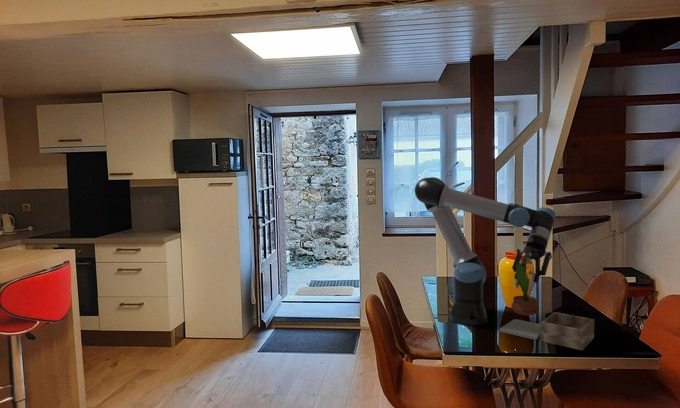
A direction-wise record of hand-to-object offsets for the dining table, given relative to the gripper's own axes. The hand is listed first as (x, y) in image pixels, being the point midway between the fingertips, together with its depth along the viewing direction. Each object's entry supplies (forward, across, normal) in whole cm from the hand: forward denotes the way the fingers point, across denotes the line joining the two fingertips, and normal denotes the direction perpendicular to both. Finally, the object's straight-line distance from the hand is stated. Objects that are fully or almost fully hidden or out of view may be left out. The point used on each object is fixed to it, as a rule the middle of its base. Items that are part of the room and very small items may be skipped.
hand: (523, 287), depth 169 cm
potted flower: (+5, 0, -10) cm, 12 cm away
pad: (+10, +1, -15) cm, 18 cm away
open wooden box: (+10, -15, -15) cm, 23 cm away
